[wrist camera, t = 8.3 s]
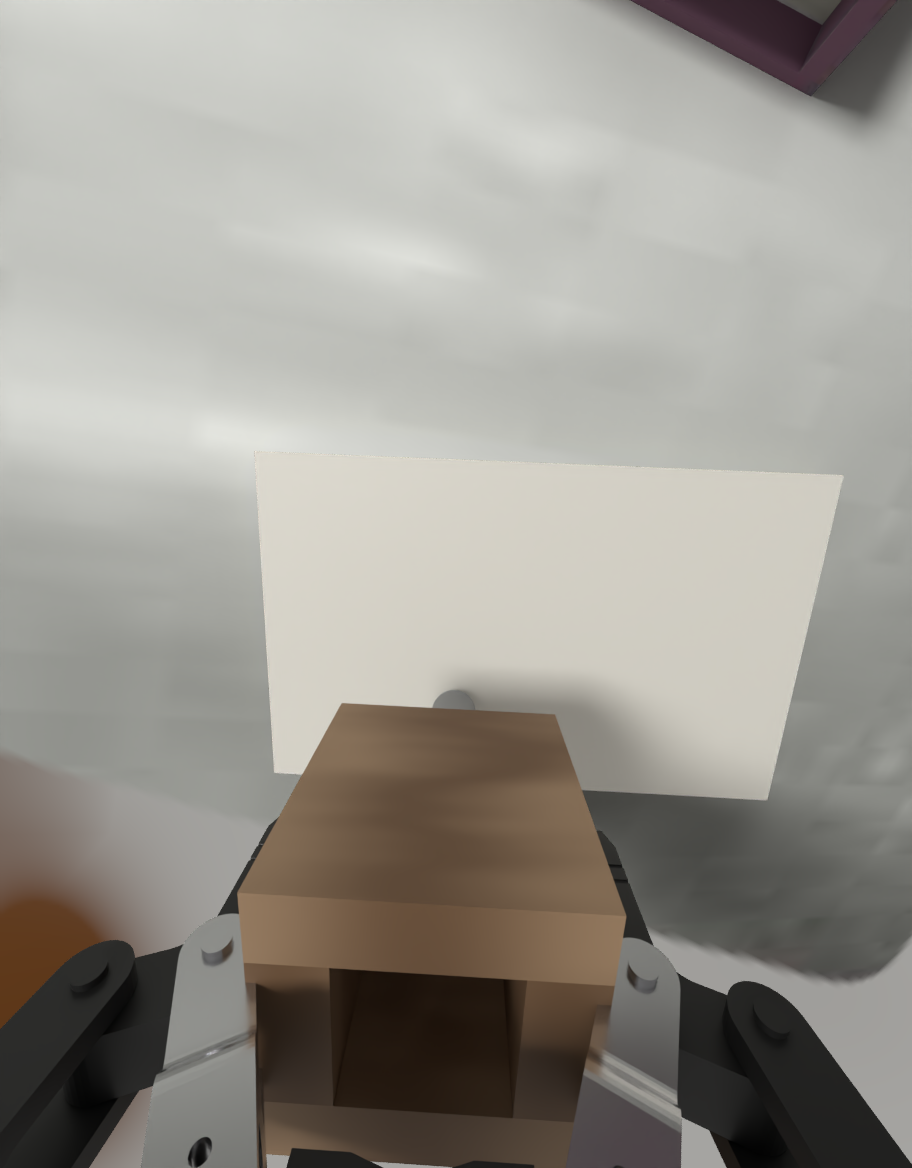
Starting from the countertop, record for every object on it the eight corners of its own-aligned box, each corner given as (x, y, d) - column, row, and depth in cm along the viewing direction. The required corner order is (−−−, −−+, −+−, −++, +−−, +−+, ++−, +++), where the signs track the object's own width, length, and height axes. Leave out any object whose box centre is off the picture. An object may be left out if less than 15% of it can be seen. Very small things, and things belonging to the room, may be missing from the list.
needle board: (814, 474, 18) (1189, 478, 9) (747, 778, 22) (965, 1021, 12) (270, 452, 19) (63, 433, 9) (287, 753, 22) (147, 967, 13)
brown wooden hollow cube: (555, 714, 13) (626, 915, 7) (536, 888, 14) (583, 1176, 8) (341, 702, 13) (237, 892, 7) (344, 876, 14) (259, 1153, 9)
